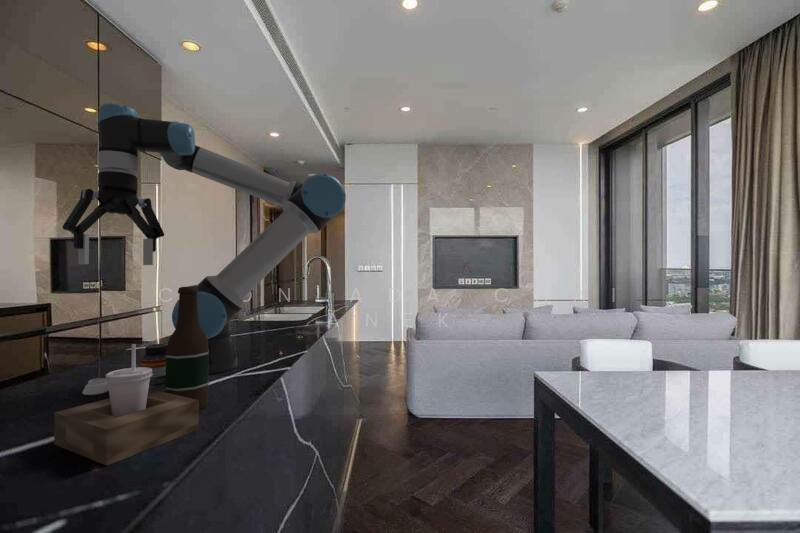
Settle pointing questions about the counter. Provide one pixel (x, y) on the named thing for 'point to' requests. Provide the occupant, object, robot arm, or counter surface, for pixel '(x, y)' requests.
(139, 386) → the smoothie
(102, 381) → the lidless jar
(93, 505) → the counter surface
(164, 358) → the supplement bottle
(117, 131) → the robot arm
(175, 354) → the beer bottle
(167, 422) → the socket board
